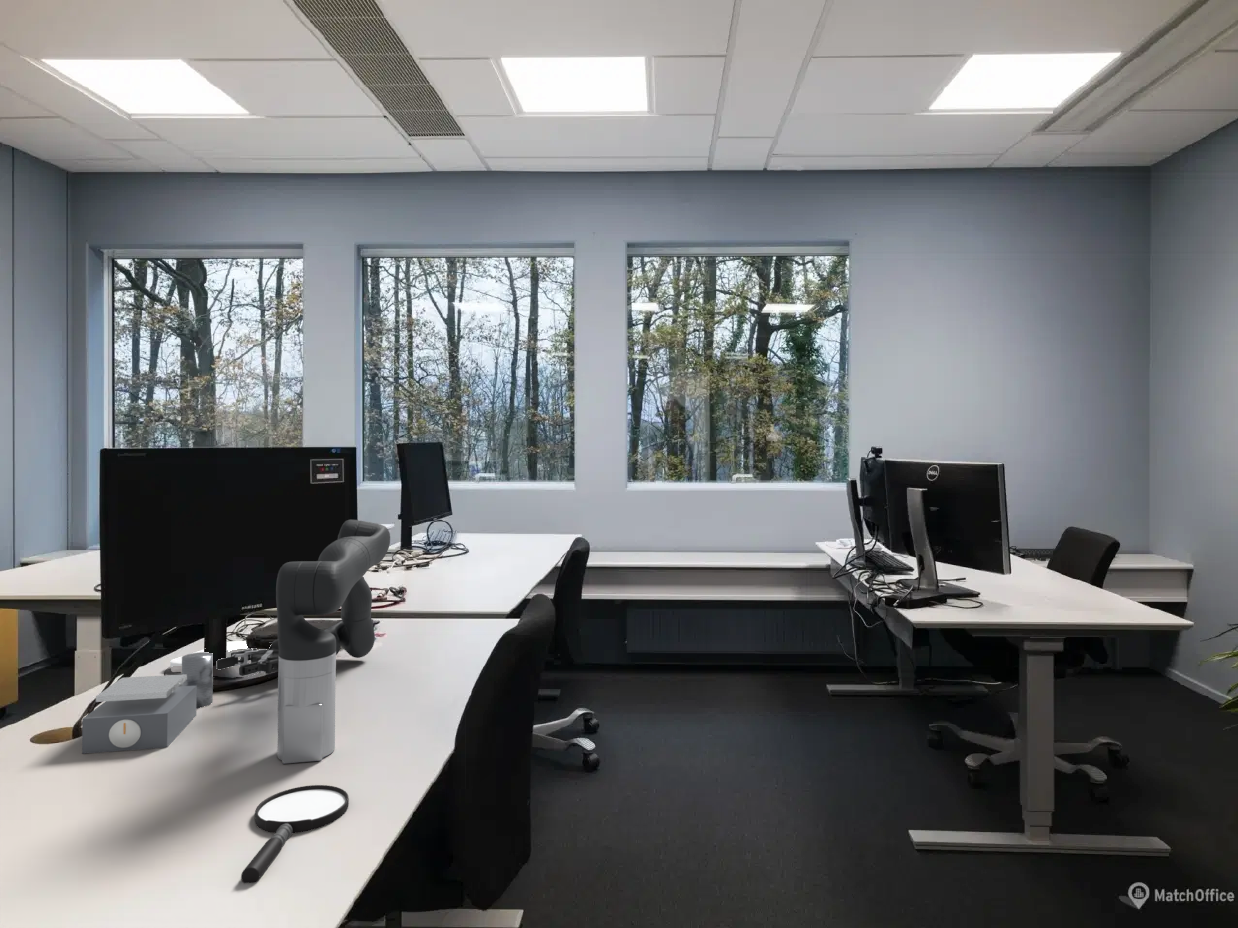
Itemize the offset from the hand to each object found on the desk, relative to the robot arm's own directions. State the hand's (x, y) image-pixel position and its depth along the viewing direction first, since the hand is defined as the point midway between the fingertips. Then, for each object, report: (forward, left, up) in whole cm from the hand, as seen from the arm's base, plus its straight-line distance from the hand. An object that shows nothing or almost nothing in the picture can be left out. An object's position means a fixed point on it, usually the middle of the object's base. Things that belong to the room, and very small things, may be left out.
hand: (228, 667), depth 155 cm
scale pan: (-20, +9, +2) cm, 22 cm away
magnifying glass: (-63, -23, -7) cm, 68 cm away
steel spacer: (-5, +5, -6) cm, 9 cm away
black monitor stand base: (+27, +5, -7) cm, 28 cm away
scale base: (-20, +9, -6) cm, 23 cm away
